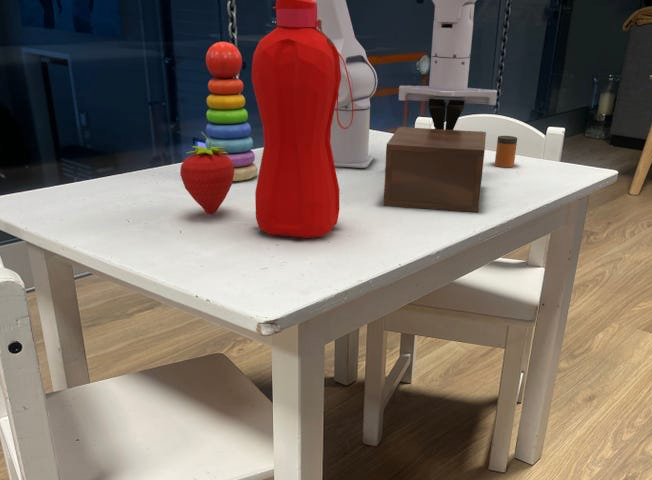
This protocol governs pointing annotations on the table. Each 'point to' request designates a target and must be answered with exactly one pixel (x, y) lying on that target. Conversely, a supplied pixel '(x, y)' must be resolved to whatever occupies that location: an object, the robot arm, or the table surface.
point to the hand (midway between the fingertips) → (442, 151)
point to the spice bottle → (505, 151)
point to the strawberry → (208, 176)
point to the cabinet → (434, 169)
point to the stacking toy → (229, 110)
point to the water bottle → (297, 124)
